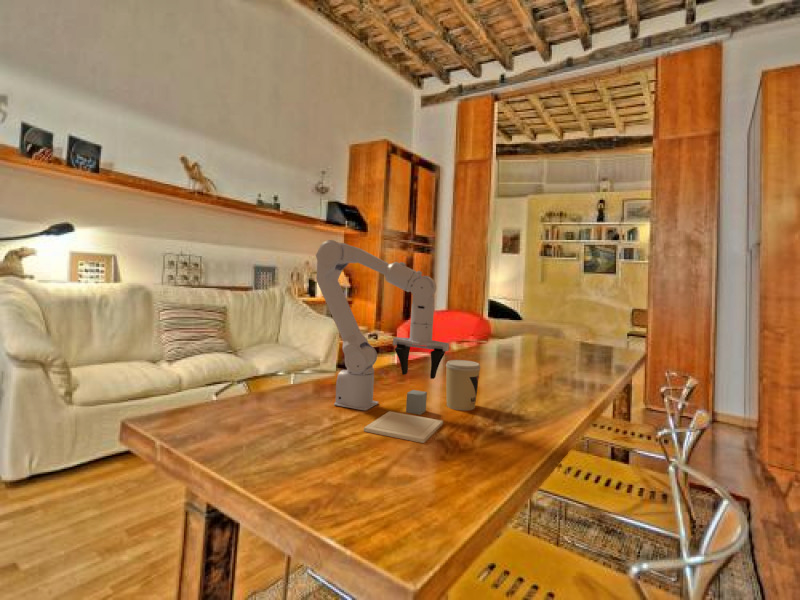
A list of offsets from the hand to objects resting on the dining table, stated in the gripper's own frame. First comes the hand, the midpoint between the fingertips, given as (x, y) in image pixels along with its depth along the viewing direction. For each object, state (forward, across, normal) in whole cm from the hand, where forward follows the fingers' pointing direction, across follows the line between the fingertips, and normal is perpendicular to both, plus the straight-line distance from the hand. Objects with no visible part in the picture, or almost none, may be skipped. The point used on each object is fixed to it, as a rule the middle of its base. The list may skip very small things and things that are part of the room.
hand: (418, 375), depth 113 cm
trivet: (+9, +2, -13) cm, 16 cm away
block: (+9, 0, 0) cm, 9 cm away
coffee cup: (+10, +9, +11) cm, 17 cm away
